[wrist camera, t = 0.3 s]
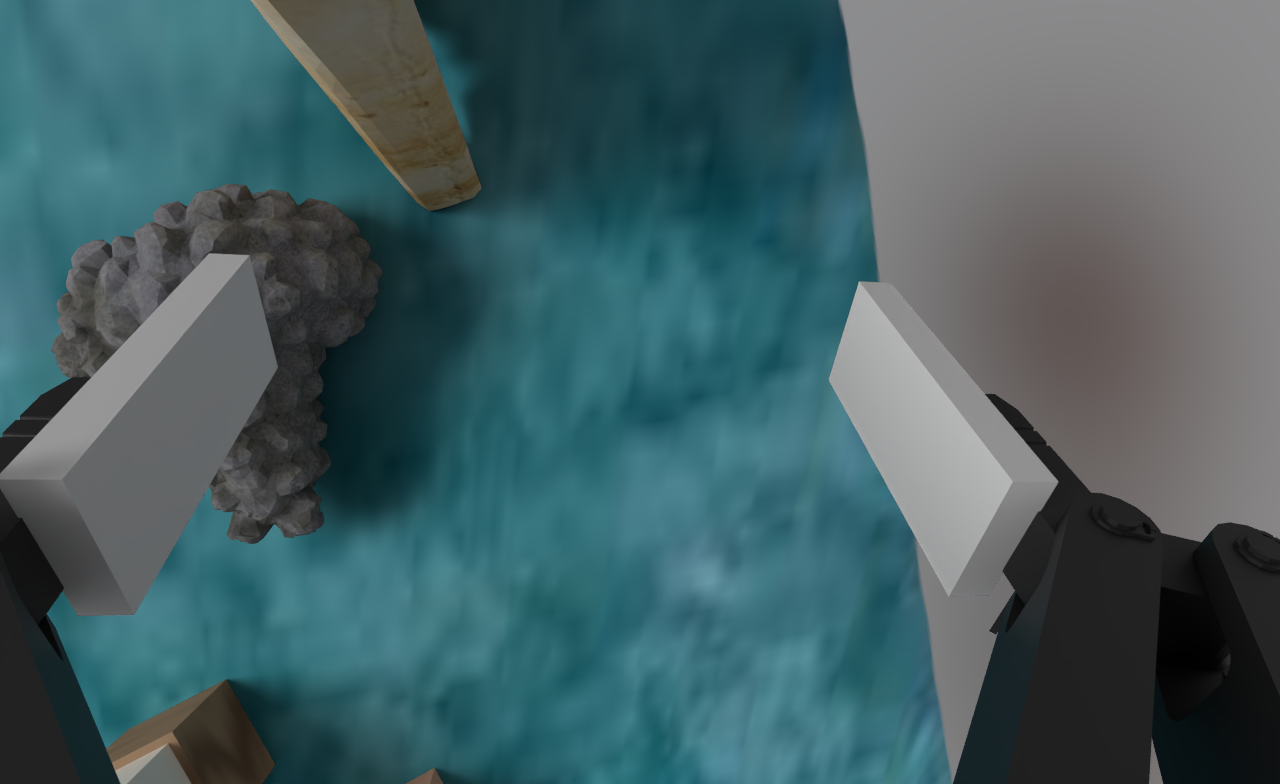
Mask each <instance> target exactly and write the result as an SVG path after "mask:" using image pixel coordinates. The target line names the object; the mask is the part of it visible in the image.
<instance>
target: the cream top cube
mask: <svg viewBox="0 0 1280 784" xmlns="http://www.w3.org/2000/svg"><path fill="white" fill-rule="evenodd" d="M115 772H116V774H117V776H118V779H119V781H120V783H121V784H191V782H190V780H189V779H188V777H187V775H186V773H185V772H184V770H183V768H182V767H181V765H180V763H179V761H178V760H177V758H176V756H175V755H174V753H173V751H172V750H171V748H170V746H169V744H166V745H164V746H162V747H160V748H158V749H156V750H154V751H152V752H150V753H148V754H146V755H145V756H143V757H141V758H139V759H137V760H135V761H133V762H131V763H129V764H127V765H125V766H123V767H121V768H120V769H118V770H116V771H115Z"/></svg>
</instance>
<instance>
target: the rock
mask: <svg viewBox="0 0 1280 784" xmlns="http://www.w3.org/2000/svg"><path fill="white" fill-rule="evenodd" d="M153 217H154V222H148V223H147V224H145V225H144V226H142V227H141V228H139V229H138V230H137V231H135V232H134V236H135V238H133V237H124V236H117V237H114V239H113V242H112V246H111V245H109V244H108V243H107V242H106V241H104V240H94V241H91V242H89V243H86V244H84V245H81V246H80V247H79V248H78V249H77V250H76V252H75V253H74V255H73V256H72V257H71V261H72V265H73V269H70V270H69V273H68V277H67V282H66V287H67V289H68V290H69V292H68V293H64V294H63V295H62V297H61V298H60V299H59V300H58V302H57V303H56V304H57V308H58V312H59V313H60V314H61V315H60V317H59V318H58V320H57V321H58V323H59V325H60V328H61V330H62V332H63V333H62V334H60V335H59V336H58V337H56V338H55V340H54V343H53V347H52V350H51V351H52V352H53V353H55V354H56V360H57V362H58V363H57V365H58V366H59V367H60V369H61V371H62V373H63V374H64V375H66V376H67V377H69V378H73V377H92V376H93V375H94V374H95V373H96V372H97V371H98V370H99V369H100V368H101V367H102V366H103V365H104V364H105V363H106V362H107V361H108V360H109V358H110V357H111V356H112V355H113V354H114V353H115V352H116V351H117V350H118V349H119V348H120V347H121V346H122V345H123V344H124V343H125V342H126V341H127V340H128V338H129V337H130V336H131V335H132V334H133V333H134V332H135V331H136V330H137V329H138V328H139V327H140V326H141V325H142V324H143V323H144V322H145V321H146V320H147V318H148V317H149V316H150V315H151V314H152V313H153V312H154V311H155V310H156V309H157V308H158V307H159V306H160V305H161V304H162V303H163V302H164V301H165V300H166V298H167V297H168V296H169V295H170V294H171V293H172V292H173V291H174V290H175V289H176V288H177V287H178V286H179V285H180V284H181V283H182V282H183V281H184V280H185V278H186V277H187V276H188V275H189V274H190V273H191V272H192V271H193V270H194V269H195V268H196V267H197V266H198V265H199V264H200V263H201V262H202V261H203V260H204V258H205V257H206V256H207V255H208V254H209V253H210V254H233V255H250V259H251V263H252V267H253V271H254V275H255V279H256V283H257V286H258V290H259V294H260V298H261V302H262V306H263V310H264V314H265V318H266V322H267V326H268V330H269V334H270V338H271V342H272V346H273V350H274V354H275V357H276V361H277V365H278V368H277V370H276V372H275V373H274V375H273V377H272V378H271V380H270V382H269V384H268V385H267V387H266V389H265V390H264V392H263V394H262V396H261V397H260V399H259V401H258V403H257V404H256V406H255V408H254V409H253V411H252V413H251V415H250V416H249V418H248V420H247V421H246V423H245V425H244V427H243V428H242V430H241V432H240V434H239V435H238V437H237V439H236V440H235V442H234V444H233V446H232V447H231V449H230V451H229V452H228V454H227V456H226V458H225V459H224V461H223V463H222V465H221V466H220V468H219V470H218V471H217V473H216V475H215V477H214V478H213V480H212V482H211V483H210V485H209V487H210V489H211V491H212V496H211V501H212V504H213V507H214V509H216V510H222V511H223V512H233V515H232V519H231V522H230V526H229V529H228V532H227V535H228V537H229V538H230V539H231V540H234V539H237V540H239V541H241V542H246V543H249V544H254V543H258V542H259V541H260V540H262V539H263V538H264V537H265V536H266V534H267V533H268V531H269V530H270V529H271V527H272V526H273V525H274V524H276V525H277V526H278V527H279V528H280V529H281V531H282V533H283V535H284V537H289V538H294V537H295V536H298V535H307V534H309V533H311V532H315V531H316V529H318V528H320V527H321V526H322V525H323V523H324V517H323V513H322V512H321V511H320V506H319V505H320V502H321V500H322V499H321V497H320V496H319V495H318V494H317V493H316V492H315V491H314V490H313V486H315V485H316V480H317V478H319V477H322V476H323V474H324V473H325V472H326V471H327V469H328V468H329V467H330V465H331V461H330V458H329V456H328V454H327V452H326V451H325V449H323V448H322V447H321V446H319V445H318V442H320V441H321V440H322V439H324V438H325V437H326V432H327V424H326V423H325V422H324V421H323V420H321V419H320V418H319V417H320V415H321V413H322V411H323V409H324V407H323V406H322V405H321V403H320V402H319V401H318V400H317V399H316V398H317V397H318V396H319V395H320V394H321V393H322V391H323V386H324V384H323V379H322V378H321V377H320V374H319V371H318V369H319V368H320V366H321V364H322V363H323V362H324V361H325V360H326V352H325V347H337V346H338V345H340V344H342V343H345V342H346V341H348V337H350V336H354V335H357V334H358V333H359V332H360V331H361V330H362V329H363V328H364V327H365V319H364V318H366V317H368V316H369V315H370V313H371V312H372V310H373V309H374V307H375V305H376V301H375V298H374V296H375V295H376V294H377V293H378V292H379V290H378V281H379V279H380V278H381V276H382V274H383V272H382V270H381V267H380V266H378V265H377V264H376V263H375V262H374V261H373V260H372V259H371V258H370V257H369V255H370V252H371V248H370V245H369V244H368V243H367V242H366V241H365V240H364V239H363V238H360V230H359V228H358V226H357V225H356V223H355V222H353V221H352V220H351V219H349V218H348V217H347V216H346V215H345V214H344V213H343V212H342V211H341V210H339V209H338V208H337V207H336V206H334V205H331V204H329V203H327V202H325V201H320V200H315V199H309V198H308V199H307V200H306V201H304V202H303V203H302V204H300V205H297V204H296V202H295V201H294V200H293V198H292V197H291V196H290V194H289V193H288V192H282V191H277V190H271V189H270V190H267V191H265V192H260V193H253V194H251V192H250V191H249V189H248V188H247V186H246V185H237V184H227V185H224V186H221V187H218V188H216V189H213V190H207V191H202V192H197V193H196V194H195V196H194V198H193V199H192V201H191V203H190V204H189V206H188V207H186V206H185V205H183V204H182V203H180V202H178V201H177V202H172V203H168V204H163V205H161V206H160V207H159V208H158V209H157V211H156V212H155V213H154V214H153Z"/></svg>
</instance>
